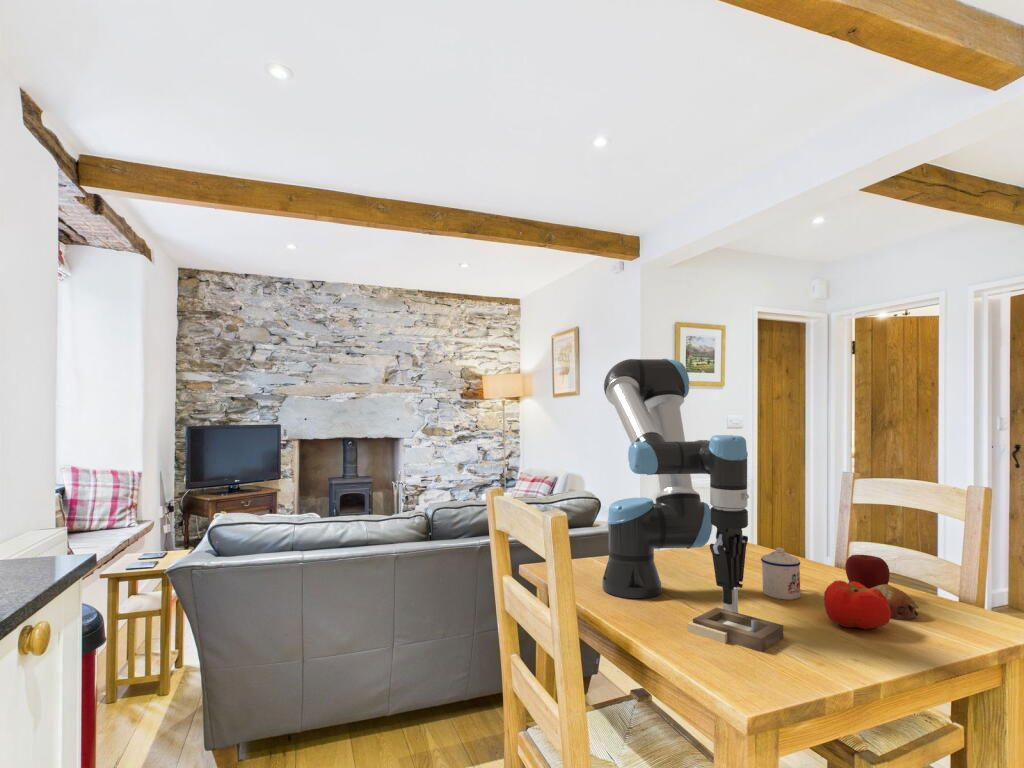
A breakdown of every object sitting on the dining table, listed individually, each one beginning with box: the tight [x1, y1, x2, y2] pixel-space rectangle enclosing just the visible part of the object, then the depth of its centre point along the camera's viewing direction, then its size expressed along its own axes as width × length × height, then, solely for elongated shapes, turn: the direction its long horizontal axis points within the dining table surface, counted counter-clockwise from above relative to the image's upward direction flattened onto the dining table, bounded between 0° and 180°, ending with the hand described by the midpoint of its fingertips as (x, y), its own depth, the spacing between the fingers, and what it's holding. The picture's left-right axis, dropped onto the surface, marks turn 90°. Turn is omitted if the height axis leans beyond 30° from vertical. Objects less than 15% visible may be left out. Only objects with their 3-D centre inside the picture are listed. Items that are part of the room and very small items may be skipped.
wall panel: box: [686, 620, 758, 644], centre depth 114 cm, size 22×16×5 cm
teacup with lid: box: [760, 547, 801, 601], centre depth 143 cm, size 12×9×12 cm
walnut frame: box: [692, 607, 784, 653], centre depth 113 cm, size 14×10×2 cm
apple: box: [845, 554, 890, 589], centre depth 142 cm, size 10×10×10 cm
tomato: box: [823, 579, 891, 630], centre depth 121 cm, size 14×13×9 cm
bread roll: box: [873, 583, 919, 621], centre depth 129 cm, size 10×10×8 cm
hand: (730, 617), depth 120 cm, fingers closed
